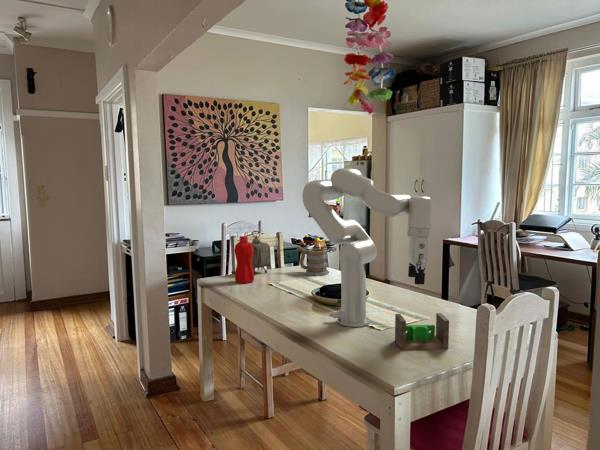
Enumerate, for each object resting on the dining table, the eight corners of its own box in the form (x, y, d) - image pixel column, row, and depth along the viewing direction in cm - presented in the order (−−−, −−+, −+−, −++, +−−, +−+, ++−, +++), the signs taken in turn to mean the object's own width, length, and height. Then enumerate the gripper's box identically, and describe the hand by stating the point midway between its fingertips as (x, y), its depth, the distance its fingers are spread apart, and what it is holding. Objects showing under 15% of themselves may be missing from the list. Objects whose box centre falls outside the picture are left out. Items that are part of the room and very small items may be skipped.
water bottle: (243, 285, 235) (242, 238, 232) (232, 281, 243) (231, 236, 240) (258, 282, 240) (257, 236, 238) (247, 279, 249) (246, 234, 246)
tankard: (331, 272, 263) (331, 247, 262) (321, 276, 253) (321, 250, 251) (303, 269, 274) (302, 244, 272) (291, 273, 263) (291, 247, 262)
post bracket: (400, 349, 146) (401, 321, 145) (394, 340, 154) (395, 313, 153) (448, 348, 147) (449, 320, 146) (440, 339, 155) (441, 313, 154)
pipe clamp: (404, 342, 149) (404, 329, 148) (401, 338, 153) (401, 325, 152) (437, 341, 149) (437, 328, 149) (433, 337, 153) (433, 324, 152)
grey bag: (270, 272, 264) (269, 231, 261) (259, 275, 257) (258, 232, 254) (253, 269, 273) (252, 229, 270) (242, 272, 266) (241, 230, 264)
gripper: (436, 236, 145) (433, 287, 147) (423, 228, 162) (420, 274, 164) (413, 235, 145) (410, 286, 147) (402, 228, 162) (400, 274, 165)
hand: (415, 280), depth 156 cm, fingers open, 9 cm apart
